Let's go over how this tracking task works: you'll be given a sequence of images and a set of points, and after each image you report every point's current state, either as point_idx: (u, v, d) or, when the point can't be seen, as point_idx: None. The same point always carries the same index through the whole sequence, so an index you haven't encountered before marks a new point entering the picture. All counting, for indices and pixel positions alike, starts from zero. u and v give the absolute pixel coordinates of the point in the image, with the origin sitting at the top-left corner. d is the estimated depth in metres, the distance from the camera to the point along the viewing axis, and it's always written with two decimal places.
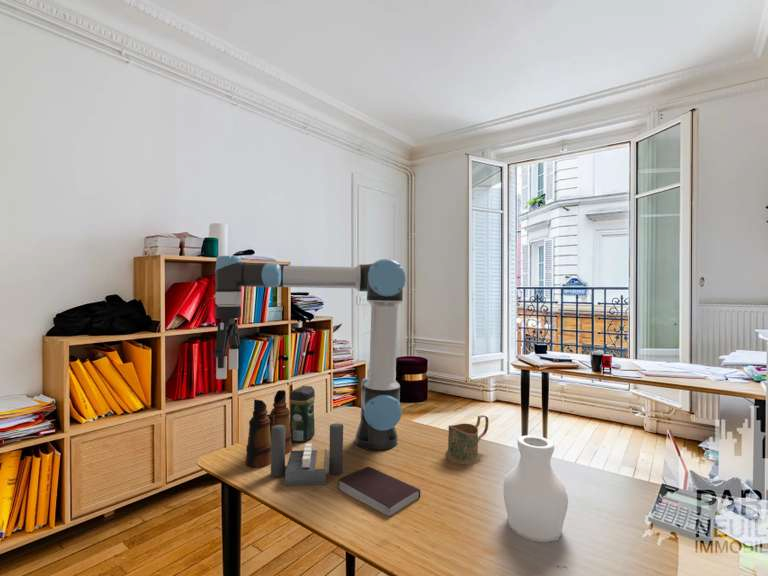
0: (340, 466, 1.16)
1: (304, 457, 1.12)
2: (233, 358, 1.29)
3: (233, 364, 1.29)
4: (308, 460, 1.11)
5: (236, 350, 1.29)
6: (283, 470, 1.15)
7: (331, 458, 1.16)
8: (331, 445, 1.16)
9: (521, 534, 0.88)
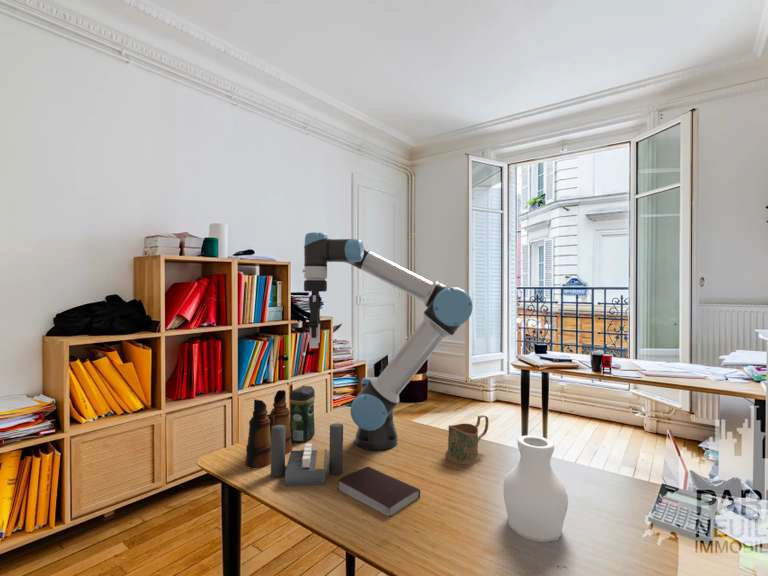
0: (340, 466, 1.16)
1: (304, 457, 1.12)
2: None
3: None
4: (308, 460, 1.11)
5: (318, 325, 1.36)
6: (283, 470, 1.15)
7: (331, 458, 1.16)
8: (331, 445, 1.16)
9: (521, 534, 0.88)
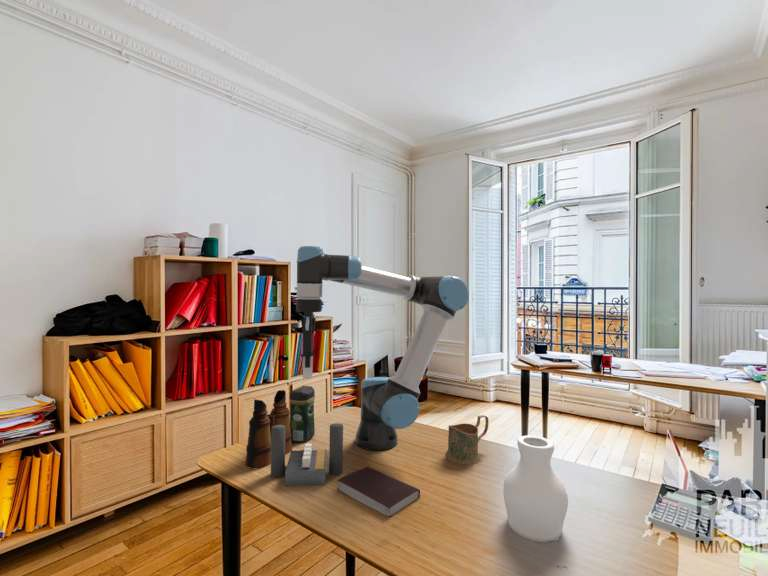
0: (340, 466, 1.16)
1: (304, 457, 1.12)
2: None
3: None
4: (308, 460, 1.11)
5: None
6: (283, 470, 1.15)
7: (331, 458, 1.16)
8: (331, 445, 1.16)
9: (521, 534, 0.88)
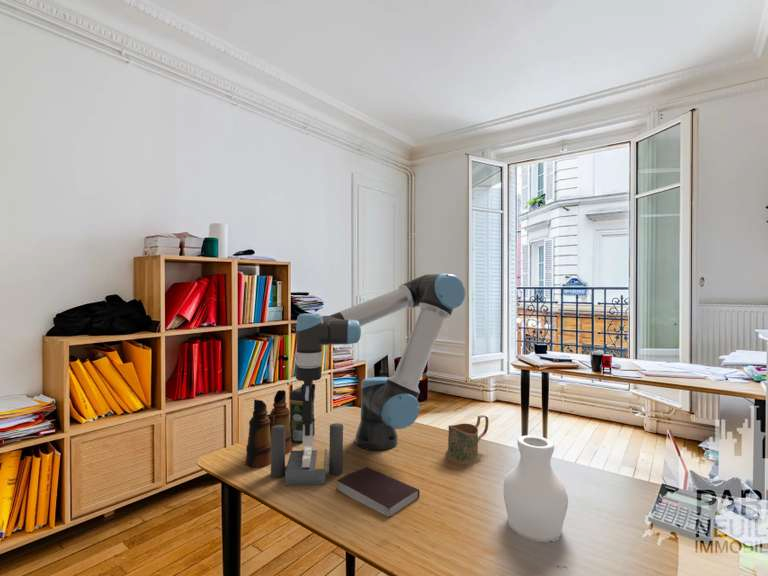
0: (340, 466, 1.16)
1: (304, 457, 1.12)
2: None
3: None
4: (308, 460, 1.11)
5: (311, 424, 1.17)
6: (283, 470, 1.15)
7: (331, 458, 1.16)
8: (331, 445, 1.16)
9: (521, 534, 0.88)
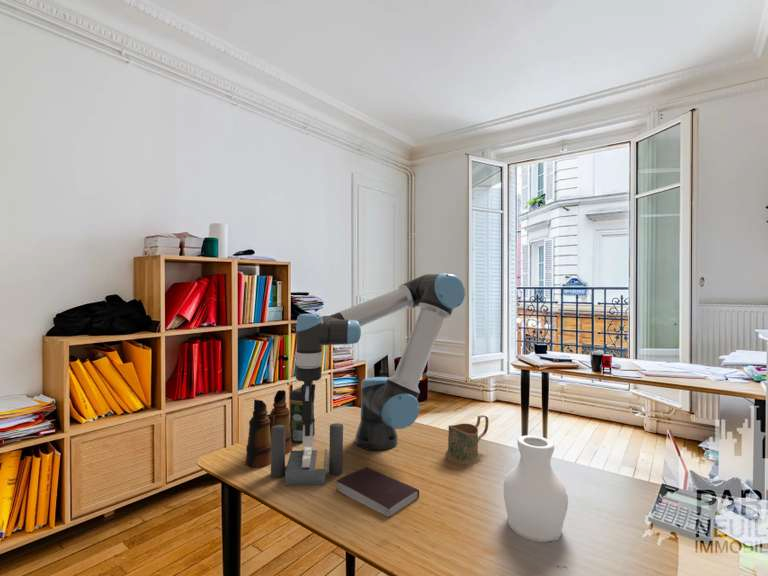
0: (340, 466, 1.16)
1: (304, 457, 1.12)
2: None
3: None
4: (308, 460, 1.11)
5: (311, 424, 1.17)
6: (283, 470, 1.15)
7: (331, 458, 1.16)
8: (331, 445, 1.16)
9: (521, 534, 0.88)
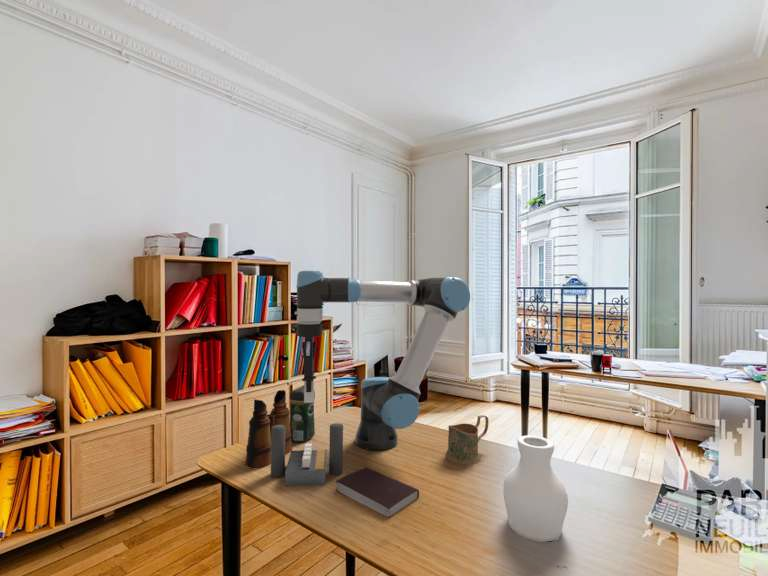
0: (340, 466, 1.16)
1: (304, 457, 1.12)
2: None
3: None
4: (308, 460, 1.11)
5: None
6: (283, 470, 1.15)
7: (331, 458, 1.16)
8: (331, 445, 1.16)
9: (521, 534, 0.88)
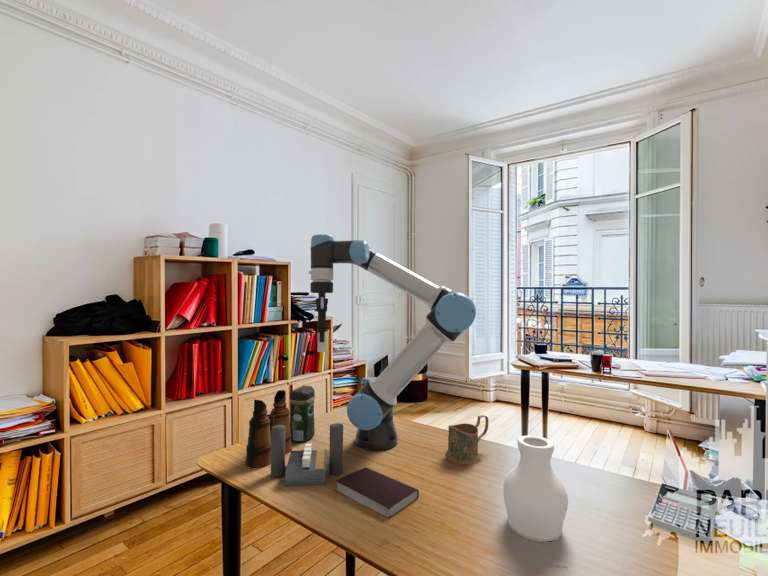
0: (340, 466, 1.16)
1: (304, 457, 1.12)
2: None
3: None
4: (308, 460, 1.11)
5: None
6: (283, 470, 1.15)
7: (331, 458, 1.16)
8: (331, 445, 1.16)
9: (521, 534, 0.88)
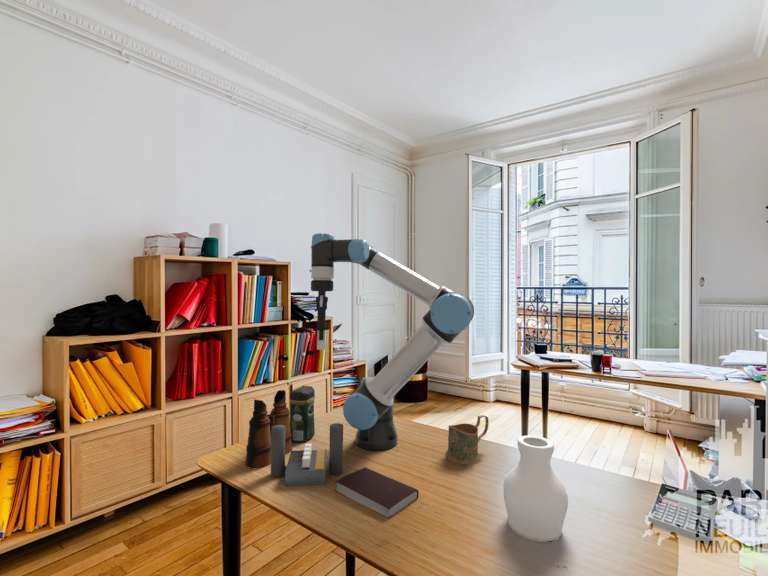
0: (340, 466, 1.16)
1: (304, 457, 1.12)
2: None
3: None
4: (308, 460, 1.11)
5: None
6: (283, 470, 1.15)
7: (331, 458, 1.16)
8: (331, 445, 1.16)
9: (521, 534, 0.88)
